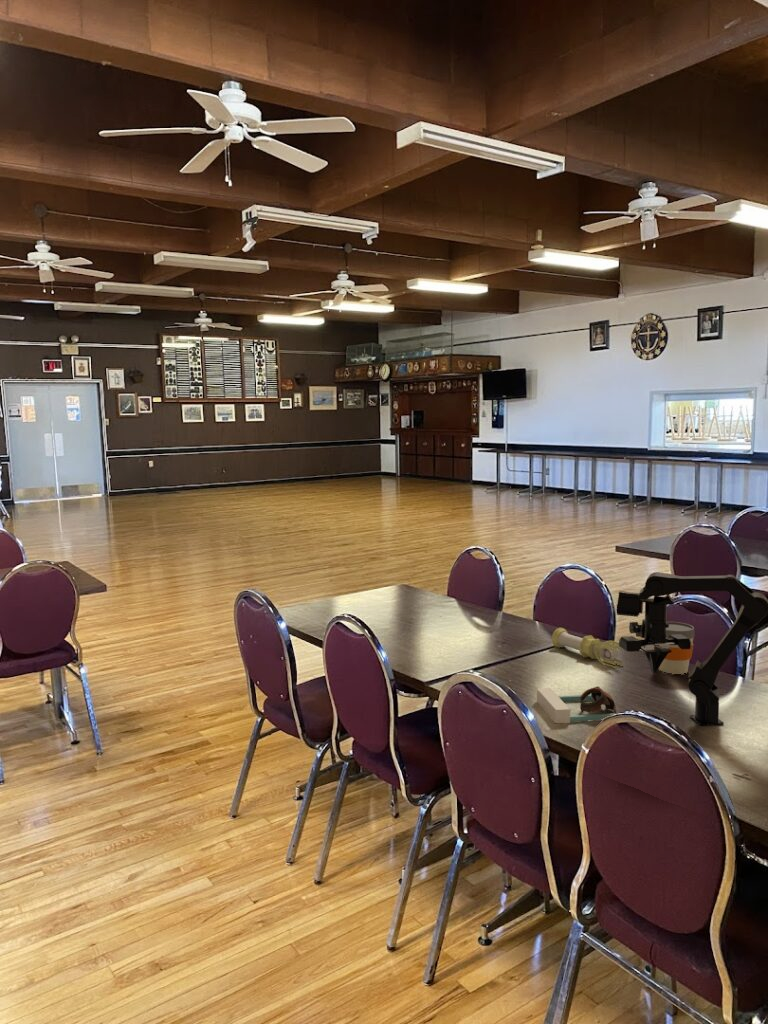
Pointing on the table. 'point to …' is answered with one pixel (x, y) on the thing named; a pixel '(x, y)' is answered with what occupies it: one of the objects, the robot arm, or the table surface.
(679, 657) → the reusable coffee cup
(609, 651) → the trophy
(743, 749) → the table surface
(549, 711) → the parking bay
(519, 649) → the table surface
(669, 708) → the table surface
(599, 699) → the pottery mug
